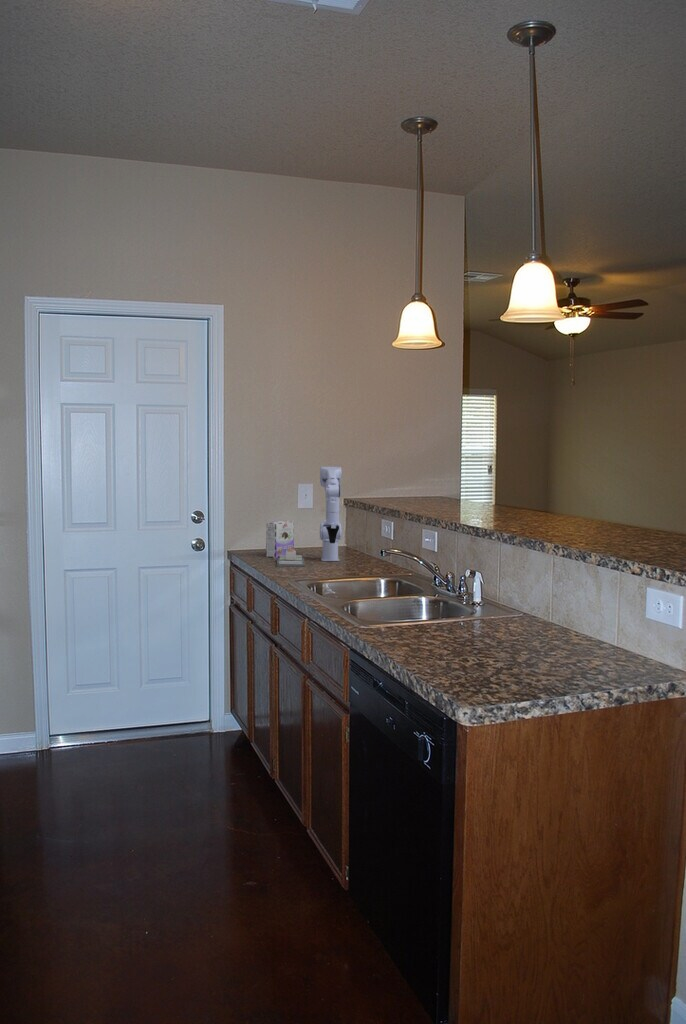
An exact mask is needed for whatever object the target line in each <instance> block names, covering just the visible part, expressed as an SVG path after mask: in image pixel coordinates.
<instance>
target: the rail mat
mask: <svg viewBox="0 0 686 1024" xmlns="http://www.w3.org/2000/svg"><path fill="white" fill-rule="evenodd" d="M276 559H277V560H276V561H277V562H276V567H302V566H305V565H306V563H305V558H304V557H303V555H299V554H296V560H286V555H280V557H279V558H276Z"/></svg>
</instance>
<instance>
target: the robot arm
mask: <svg viewBox="0 0 686 1024" xmlns="http://www.w3.org/2000/svg"><path fill="white" fill-rule="evenodd" d="M319 479H320V480H319V483H320V486H321V487H323V488H324V492H325V519H324V520H323V521H321V522H320V524H319V540H321V541H322V546H321V548H322V551H321V553H322V556H321V557H320V559H321V562H340V558H339V541H341V539H342V535H343V534H342V532H343V531H342V524H341V522H340V503H341V501H340V499H341V495H342V487H341V482H342V467H341V466H323V465H321V466H320V468H319Z"/></svg>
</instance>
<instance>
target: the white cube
mask: <svg viewBox="0 0 686 1024" xmlns="http://www.w3.org/2000/svg"><path fill="white" fill-rule="evenodd" d="M296 555H297V551H296V550H295V548H294V549H288V550H286V560H296Z"/></svg>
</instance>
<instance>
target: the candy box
mask: <svg viewBox="0 0 686 1024" xmlns="http://www.w3.org/2000/svg"><path fill="white" fill-rule="evenodd" d="M265 537H266V542H265V543H266V546H265V547H266V549H265V550H266V551H265V553H266V554H265V557H266V558H271V559H278V557H279V558H280V555H286V550H288V549H294V550H295V543H294V542H295V520H287V519H286V520H279V521H278V520H277V521H276V520H275V521H270V522H268V521H267V522H266V536H265Z"/></svg>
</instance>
